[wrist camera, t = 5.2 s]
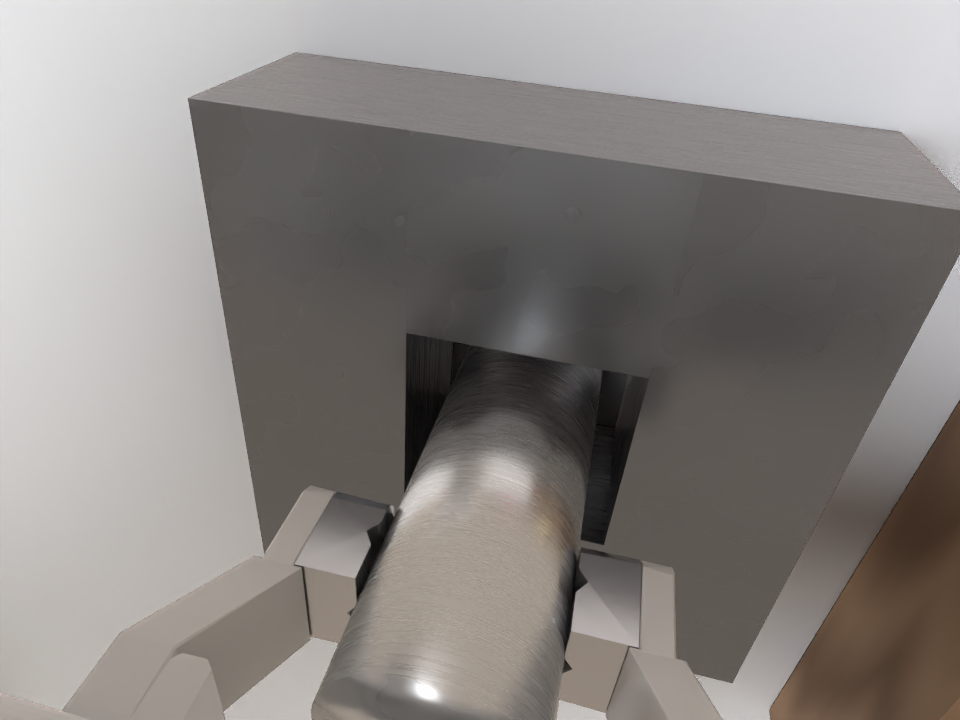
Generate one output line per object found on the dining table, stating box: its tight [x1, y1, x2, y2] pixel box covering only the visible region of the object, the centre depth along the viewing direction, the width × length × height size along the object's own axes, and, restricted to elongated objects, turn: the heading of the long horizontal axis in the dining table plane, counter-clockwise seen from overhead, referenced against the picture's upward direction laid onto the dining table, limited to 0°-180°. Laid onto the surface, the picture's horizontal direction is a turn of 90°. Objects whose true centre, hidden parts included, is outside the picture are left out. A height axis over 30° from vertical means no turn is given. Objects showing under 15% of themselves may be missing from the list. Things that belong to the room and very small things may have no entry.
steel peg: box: [311, 345, 603, 720], centre depth 13 cm, size 3×3×10 cm
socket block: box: [188, 53, 960, 683], centre depth 15 cm, size 12×12×4 cm
